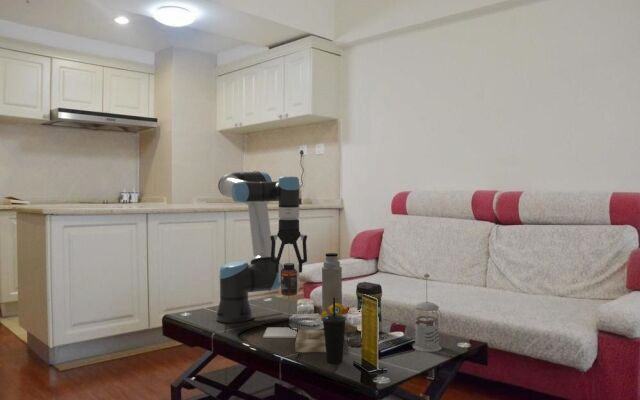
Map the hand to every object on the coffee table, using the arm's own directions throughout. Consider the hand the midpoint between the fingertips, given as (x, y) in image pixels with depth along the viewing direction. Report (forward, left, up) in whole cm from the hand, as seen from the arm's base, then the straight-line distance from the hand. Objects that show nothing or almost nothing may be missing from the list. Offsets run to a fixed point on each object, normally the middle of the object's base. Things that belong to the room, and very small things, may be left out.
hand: (289, 281), depth 187 cm
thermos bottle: (+16, +18, -20) cm, 31 cm away
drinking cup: (+17, -28, -20) cm, 39 cm away
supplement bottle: (0, 0, -5) cm, 5 cm away
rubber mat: (-3, +3, -20) cm, 21 cm away
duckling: (+17, +9, -20) cm, 28 cm away
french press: (+49, -13, -20) cm, 54 cm away
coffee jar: (+30, +5, -20) cm, 36 cm away
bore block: (+12, -11, -20) cm, 26 cm away
